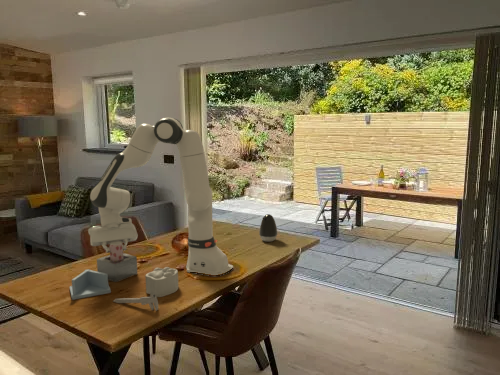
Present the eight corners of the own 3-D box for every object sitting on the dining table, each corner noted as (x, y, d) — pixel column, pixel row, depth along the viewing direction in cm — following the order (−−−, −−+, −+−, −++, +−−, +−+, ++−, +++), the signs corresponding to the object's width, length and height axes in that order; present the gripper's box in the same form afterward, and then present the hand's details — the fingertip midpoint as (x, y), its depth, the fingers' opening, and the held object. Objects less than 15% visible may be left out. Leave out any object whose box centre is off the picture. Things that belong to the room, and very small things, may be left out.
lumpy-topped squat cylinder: (143, 291, 173) (141, 271, 172) (169, 282, 183) (168, 262, 182) (158, 298, 167) (157, 277, 165) (184, 288, 176) (183, 268, 175)
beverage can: (112, 273, 194) (110, 241, 191) (125, 272, 194) (123, 240, 192) (109, 277, 188) (107, 244, 186) (123, 277, 189) (121, 244, 186)
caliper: (158, 310, 157) (157, 294, 156) (156, 311, 156) (156, 295, 155) (114, 301, 165) (113, 285, 164) (112, 302, 164) (111, 286, 163)
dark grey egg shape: (255, 241, 241) (255, 214, 239) (265, 237, 250) (265, 211, 247) (270, 244, 235) (270, 217, 233) (280, 239, 244) (280, 213, 241)
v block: (69, 289, 176) (68, 272, 175) (106, 282, 182) (105, 266, 181) (72, 299, 166) (70, 282, 165) (110, 292, 172) (109, 275, 171)
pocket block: (137, 273, 193) (136, 256, 191) (115, 282, 183) (114, 264, 182) (119, 268, 199) (118, 252, 198) (97, 276, 190) (96, 259, 188)
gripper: (87, 223, 189) (92, 250, 182) (134, 218, 198) (140, 244, 191) (87, 230, 194) (91, 257, 187) (133, 225, 203) (138, 251, 196)
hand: (116, 250), depth 189 cm, fingers closed on beverage can, 6 cm apart
